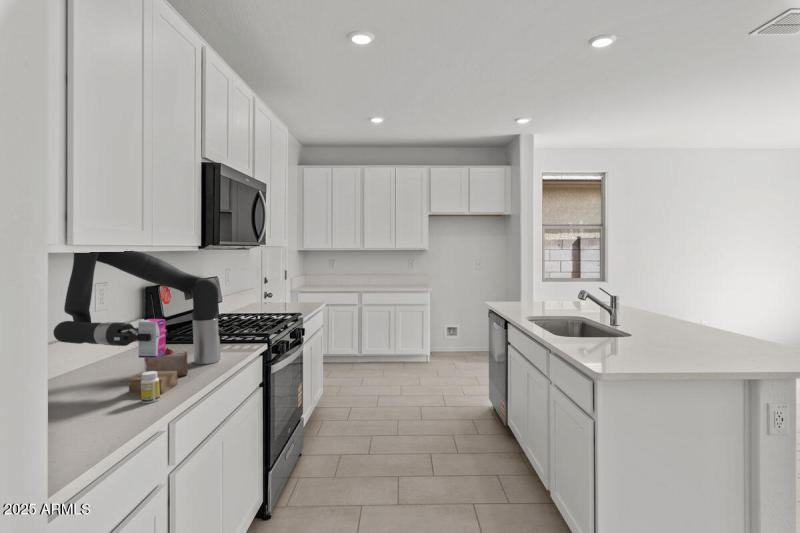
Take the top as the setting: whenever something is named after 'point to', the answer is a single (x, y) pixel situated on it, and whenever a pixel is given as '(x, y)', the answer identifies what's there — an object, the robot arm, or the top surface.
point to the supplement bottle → (150, 387)
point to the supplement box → (152, 338)
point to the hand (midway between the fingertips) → (158, 335)
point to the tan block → (165, 382)
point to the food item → (169, 362)
